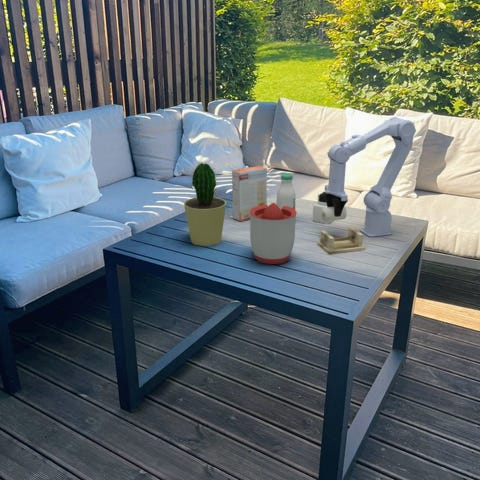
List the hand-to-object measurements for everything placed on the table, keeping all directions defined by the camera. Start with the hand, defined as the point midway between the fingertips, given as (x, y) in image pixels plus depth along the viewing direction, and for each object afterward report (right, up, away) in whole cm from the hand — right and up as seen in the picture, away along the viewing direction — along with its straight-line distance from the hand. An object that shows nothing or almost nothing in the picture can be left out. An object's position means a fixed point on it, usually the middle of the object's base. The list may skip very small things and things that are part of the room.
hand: (334, 213), depth 190 cm
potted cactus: (-48, -10, +1) cm, 49 cm away
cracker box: (-31, 0, +25) cm, 40 cm away
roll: (0, -2, +1) cm, 2 cm away
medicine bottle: (0, -2, +22) cm, 22 cm away
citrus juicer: (-24, -16, -14) cm, 32 cm away
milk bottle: (-17, -3, +20) cm, 26 cm away
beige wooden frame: (+1, -12, -5) cm, 13 cm away
